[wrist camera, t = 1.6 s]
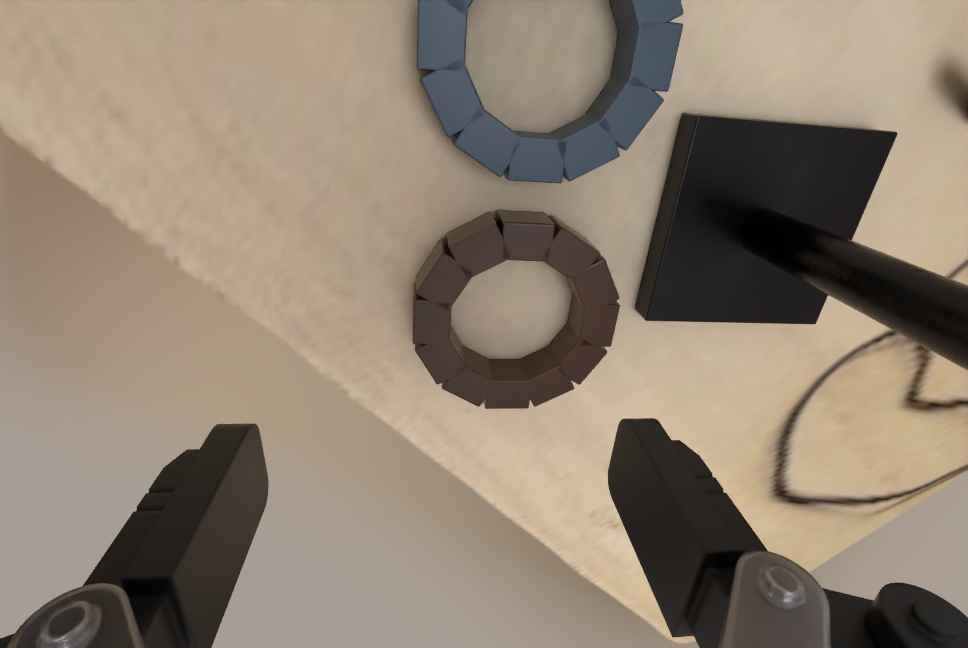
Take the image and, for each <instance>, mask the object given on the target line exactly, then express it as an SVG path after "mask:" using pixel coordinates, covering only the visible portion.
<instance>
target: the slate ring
mask: <svg viewBox="0 0 968 648" xmlns="http://www.w3.org/2000/svg"><path fill="white" fill-rule="evenodd" d="M472 1H473V0H418V38H417V69H418V70H428V71H431V72H429V73H428V74H426V75H424V76H422V77H421V78H420V81H421V84H422V86H423V88H424V90H425V92H426V94H427V96H428V98H429V100H430V102H431V104H432V106H433V108H434V110H435V113H436V115H437V117H438V119H439V121H440V123H441V125H442V127H443V129H444V131H445V133H446V135H447V137H451V136H452V137H451V139H452V142H453V144H454V145H455V146H456V147H457V148H459V149H460V150H462V151H463V152H465V153H466V154H467V155H469V156H470V157H472V158H473V159H475V160H476V161H477V162H479V163H480V164H482V165H483V166H485V167H486V168H487V169H489V170H490V171H492V172H493V173H495V174H496V175H497V176H499V177H501V176H502V175H503V174H504V176H505V177H506V178H507V179H508V180H514V181H531V182H547V183H562V178H563V177H564V178H566V179H567V180H568V181H571V180H573V179H575V178H577V177H579V176H581V175H583V174H585V173H587V172H589V171H591V170H593V169H595V168H597V167H599V166H601V165H603V164H605V163H607V162H609V161H611V160H613V159H615V158H617V157H619V156H620V154H619V151H618V148H621V149H624V150H627V149H628V148H629V146H630V145H631V144H632V142H633V141H634V140H635V138H636V137H637V136H638V134H639V133H640V132H641V130H642V129H643V128H644V126H645V125H646V124H647V122H648V121H649V120H650V118H651V117H652V116H653V114H654V113H655V112H656V110H657V109H658V108H659V106H660V105H661V104H662V102H663V101H664V100H663V98H662V97H660V96H659V95H658V94H657V93H656V92H655V91H664V92H667V91H668V90H669V86H670V81H671V77H672V72H673V68H674V63H675V59H676V54H677V50H678V46H679V41H680V37H681V32H682V28H683V24H682V23H674V22H669V21H671V20H673V19H675V18H677V17H679V16H680V15H682V14H683V9H682V4H681V0H610V3H611V7H612V11H613V14H614V18H615V21H616V25H617V28H618V32H619V34H618V39H617V45H616V51H615V56H614V62H613V68H612V73H611V79H610V80H609V82H608V83H607V85H606V86H605V87H604V89H603V90H602V92H601V93H600V95H599V96H598V97H597V99H596V100H595V102H594V103H593V105H592V106H591V107H590V109H589V110H588V112H587V113H586V115H584V116H582V117H580V118H578V119H576V120H575V121H573V122H571V123H569V124H567V125H565V126H563V127H561V128H559V129H557V130H555V131H553V132H551V133H536V132H523V131H512V130H511V129H510V128H508V127H507V126H506V125H504V124H503V123H502V122H500V121H499V120H498V119H496V118H495V117H494V116H492V115H491V114H490V113H488V112H487V111H486V110H484V108H483V106H482V103H481V101H480V99H479V96H478V94H477V92H476V89H475V87H474V85H473V82H472V80H471V78H470V76H469V73H468V71H467V69H466V66H465V47H466V29H467V11H468V8H469V6H470V5H471V3H472ZM617 147H618V148H617Z"/></svg>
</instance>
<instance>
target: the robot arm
mask: <svg viewBox="0 0 968 648" xmlns="http://www.w3.org/2000/svg"><path fill="white" fill-rule="evenodd" d="M608 485H609V490H610V494H611V497H612V500H613V502H614V504H615V507H616V509H617V511H618V513H619V516H620V518H621V520H622V523H623V525H624V527H625V529H626V532H627V534H628V536H629V539H630V541H631V543H632V546H633V548H634V550H635V552H636V555H637V557H638V559H639V562H640V564H641V566H642V568H643V571H644V573H645V575H646V578H647V580H648V582H649V584H650V587H651V589H652V591H653V594H654V596H655V598H656V601H657V603H658V605H659V607H660V610H661V612H662V614H663V617H664V619H665V621H666V623H667V626H668V628H669V630H670V633H671V635H672V637H684V636H694V637H695V639H696V641H697V643H698V645H699V647H700V648H968V618H967V617H966V616H965V615H964V614H963V613H962V612H961V611H960V610H958V609H957V608H956V607H954V606H953V605H952V604H950V603H949V602H947V601H946V600H944V599H942V598H941V597H939V596H937V595H935V594H933V593H932V592H930V591H927V590H925V589H923V588H920V587H917V586H914V585H910V584H905V583H890V584H887V585H885V586H884V587H882V589H881V590H880V592H879V593H878V595H877V597H876V598H875V600H874V601H873V600H869V599H864V598H861V597H856V596H852V595H848V594H844V593H840V592H835V591H831V590H827V589H824V588H822V587H821V586H820V585H819V583H818V582H817V581H816V580H815V579H814V578H813V576H812V575H810V574H809V573H808V572H807V571H806V570H805V569H803V568H802V567H801V566H799V565H798V564H796V563H795V562H793V561H792V560H790V559H788V558H786V557H784V556H781V555H778V554H776V553H772V552H768V551H767V549H766V548H765V546H764V545H763V544H762V542H761V541H760V539H759V538H758V537H757V535H756V534H755V532H754V531H753V530H752V528H751V527H750V526H749V524H748V523H747V521H746V520H745V519H744V517H743V516H742V514H741V513H740V512H739V510H738V509H737V507H736V506H735V505H734V503H733V502H732V500H731V499H730V498H729V496H728V495H727V494H726V493H724V492H723V488H722V487H721V485H720V484H719V482H718V481H717V480H716V478H715V477H712V473H711V471H710V470H709V468H708V467H707V466H706V464H705V463H704V462H703V460H702V459H701V457H700V456H699V455H698V454H696V453H695V452H694V451H693V450H691V449H690V448H689V447H687V446H686V445H685V444H684V443H682V442H681V441H680V440H671V439H670V437H669V436H668V434H667V433H666V431H665V430H664V428H663V427H662V425H661V424H660V423H659V421H658V420H656V419H653V418H649V419H622V420H621V421H620V423H619V425H618V429H617V433H616V438H615V442H614V447H613V451H612V456H611V460H610V465H609V470H608ZM267 496H268V475H267V469H266V464H265V458H264V453H263V447H262V442H261V436H260V432H259V428H258V426H257V425H256V424H217V425H216V426H215V427H214V428H213V429H212V430H211V432H210V434H209V435H208V437H207V438H206V440H205V442H204V443H203V445H202V446H201V448H200V449H199V450H198V449H195V450H186V451H185V452H183V453H182V454H181V455H179V456H178V457H177V458H176V459H174V460H173V461H172V462H171V463H169V464H168V465H167V466H165V467H164V468H163V470H162V471H161V473H160V474H159V476H158V477H157V478H156V480H155V481H154V483H153V484H152V486H151V487H150V489H149V493H148V494H147V493H146V494H145V496H144V497H143V499H142V500H141V502H140V503H139V505H138V506H137V511H136V512H133V513H132V515H131V516H130V518H129V519H128V521H127V522H126V524H125V525H124V527H123V528H122V529H121V531H120V532H119V534H118V535H117V537H116V538H115V540H114V541H113V543H112V544H111V546H110V547H109V548H108V550H107V551H106V553H105V554H104V556H103V557H102V559H101V560H100V562H99V563H98V564H97V566H96V567H95V569H94V570H93V572H92V573H91V575H90V576H89V578H88V579H87V581H86V582H85V583H84V585H83V586H82V587H79V588H76V589H73V590H71V591H68V592H66V593H64V594H62V595H60V596H58V597H56V598H54V599H53V600H51V601H50V602H48V603H47V604H45V605H44V606H42V607H41V608H40V609H38V610H37V611H36V612H35V613H33V614H32V615H31V616H30V617H29V618H28V619H27V620H26V621H25V622H24V623H23V624H22V625H21V626H20V628H19V629H18V630H17V631H16V633H15V634H12V635H9V636H7V637H4V638H0V648H211V647H212V644H213V642H214V639H215V636H216V634H217V631H218V629H219V626H220V623H221V621H222V618H223V616H224V613H225V610H226V608H227V605H228V603H229V600H230V597H231V595H232V592H233V590H234V587H235V584H236V582H237V579H238V577H239V574H240V571H241V569H242V566H243V564H244V561H245V558H246V556H247V553H248V550H249V548H250V545H251V543H252V540H253V538H254V535H255V532H256V530H257V527H258V524H259V522H260V519H261V517H262V514H263V512H264V509H265V506H266V502H267Z"/></svg>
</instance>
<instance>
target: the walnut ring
mask: <svg viewBox="0 0 968 648" xmlns="http://www.w3.org/2000/svg"><path fill="white" fill-rule="evenodd" d="M447 240H448V242H447V241H445V240H444V239H440V241H439V242H438V244H437V245H436V247H435V248H434V250H433V251H432V253H431V254H430V256H429V257H428V259H427V261H426V262H425V264H424V265H423V267H422V268H421V270H420V271H419V273H418V274H417V276H416V283H414V296H413V344H415V351H416V353H417V354H418V356H419V357H420V359H421V361H422V362H423V364H424V365H425V367H426V368H427V370H428V371H429V373H430V374H431V376H432V377H433V379H434V381H435V382H436V384H440V383H442V389H444V390H446V391H448V392H450V393H452V394H454V395H456V396H458V397H460V398H462V399H464V400H466V401H468V402H470V403H472V404H474V405H476V406H478V407H479V406H480V405H481V404H482V403H483V402H484V405H485V408H486V409H497V408H529V402H530V400H531V402H532V403H533V405H534V406H538V405H540V404H542V403H544V402H546V401H549V400H551V399H553V398H555V397H557V396H560V395H562V394H564V393H566V392H568V391H571V390H573V389H574V386H573V384H572V382H571V380H572V381H574V382H575V383H577V384H581V383H582V381H583V380H584V379H585V378H586V377H587V376H588V374H589V373H590V372H591V371H592V370H593V369H594V368H595V366H596V365H597V364H598V363H599V362H600V361H601V359H602V358H603V357H604V356H605V355H606V354H607V350H606V349H605V347H610V346H611V343H612V339H613V335H614V330H615V326H616V321H617V317H618V312H619V308H620V305H619V304H618V302H617V301H616V300H618V299H619V295H618V293H617V290H616V287H615V285H614V282H613V279H612V277H611V274H610V271H609V269H608V266H607V263H606V260H605V259H604V258H603V257H602V256H601V255H600V252H599V251H598V250H597V249H596V248H595V247H594V246H593V245H592V244H591V243H590V242H589V241H588V240H587V239H585V238H584V237H583V236H581V235H580V234H578V233H577V232H575V231H574V230H573V229H571V228H570V227H568V226H567V225H565V224H564V223H563V222H561V221H560V220H558V219H557V218H555V217H554V216H552V215H551V216H550V217H548V216H547V215H546V214H545V213H543V212H524V211H504V210H498V211H497V215H496V222H495V220H494V218H493V216H492V214H491V212H488V213H486V214H484V215H482V216H480V217H478V218H476V219H474V220H472V221H470V222H468V223H466V224H464V225H462V226H460V227H458V228H456V229H454V230H452V231H450V232H448V233H447ZM506 260H519V261H544V262H545V263H547V264H548V265H550V266H551V267H553V268H554V269H556V270H557V271H559V272H560V273H562V274H564V275H565V276H566V278H567V280H568V282H569V285H570V287H571V290H572V292H573V296H572V301H571V307H570V313H569V318H568V323H567V324H566V325H565V327H564V328H563V329H562V330H561V331H560V333H559V334H558V335H557V336H556V338H555V339H554V340H553V341H552V343H551V344H550V345H549V346H548V347H546V348H544V349H542V350H539V351H537V352H535V353H533V354H531V355H529V356H527V357H524V358H522V359H520V360H504V359H486V358H485V357H483V356H481V355H479V354H477V353H475V352H473V351H472V350H470V349H468V348H466V347H464V346H462V344H461V342H460V341H459V339H458V337H457V335H456V334H455V332H454V330H453V329H452V327H451V325H450V322H451V306H452V305H453V303H454V302H455V300H456V299H457V298H458V296H459V295H460V293H461V292H462V290H463V289H464V288H465V286H466V285H467V283H468V282H469V280H470V279H471V278H472V277H473V276H475V275H477V274H479V273H481V272H483V271H485V270H487V269H489V268H492V267H494V266H496V265H498V264H500V263H502V262H504V261H506Z"/></svg>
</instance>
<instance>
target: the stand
mask: <svg viewBox="0 0 968 648" xmlns="http://www.w3.org/2000/svg"><path fill="white" fill-rule="evenodd" d="M896 136H897V132H892V131H884V130H876V129H865V128H854V127H842V126H830V125H818V124H806V123H794V122H782V121H770V120H759V119H747V118H735V117H723V116H711V115H699V114H687V113H683V114H682V117H681V121H680V125H679V129H678V133H677V138H676V142H675V146H674V150H673V154H672V158H671V162H670V167H669V171H668V175H667V179H666V183H665V187H664V191H663V196H662V200H661V204H660V208H659V212H658V216H657V220H656V225H655V229H654V233H653V237H652V241H651V245H650V249H649V254H648V258H647V262H646V266H645V270H644V274H643V278H642V283H641V287H640V291H639V295H638V299H637V303H636V307H635V309H636V310H637V311H638V313H639V314H640V315H641V316H642V317H643V318H644V319H645V320H646V321H686V322H734V323H782V324H816V322H817V319H818V317H819V315H820V312H821V310H822V308H823V305H824V303H825V301H826V298H827V296H828V295H830V296H831V297H833V298H835V299H837V300H839V301H841V302H843V303H844V304H846V305H848V306H850V307H852V308H854V309H855V310H857V311H859V312H861V313H863V314H865V315H867V316H868V317H870V318H872V319H874V320H876V321H878V322H879V323H881V324H883V325H885V326H887V327H889V328H891V329H892V330H894V331H896V332H898V333H900V334H902V335H903V336H905V337H907V338H909V339H911V340H913V341H914V342H916V343H918V344H920V345H922V346H924V347H926V348H927V349H929V350H931V351H933V352H935V353H937V354H938V355H940V356H942V357H944V358H946V359H948V360H950V361H951V362H953V363H955V364H957V365H959V366H961V367H962V368H964V369H966V370H968V286H967V285H965V284H962V283H960V282H957V281H954V280H952V279H949V278H947V277H944V276H941V275H939V274H936V273H934V272H931V271H929V270H926V269H923V268H921V267H918V266H916V265H913V264H910V263H908V262H905V261H903V260H900V259H898V258H895V257H892V256H890V255H887V254H885V253H882V252H879V251H877V250H874V249H872V248H869V247H867V246H864V245H861V244H859V243H856V242H854V241H851V240H852V238H853V236H854V234H855V231H856V229H857V227H858V224H859V222H860V220H861V217H862V215H863V213H864V210H865V208H866V206H867V203H868V201H869V199H870V196H871V194H872V192H873V189H874V187H875V185H876V183H877V180H878V178H879V176H880V173H881V171H882V169H883V166H884V164H885V162H886V159H887V157H888V155H889V152H890V150H891V148H892V145H893V143H894V141H895V138H896Z"/></svg>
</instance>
